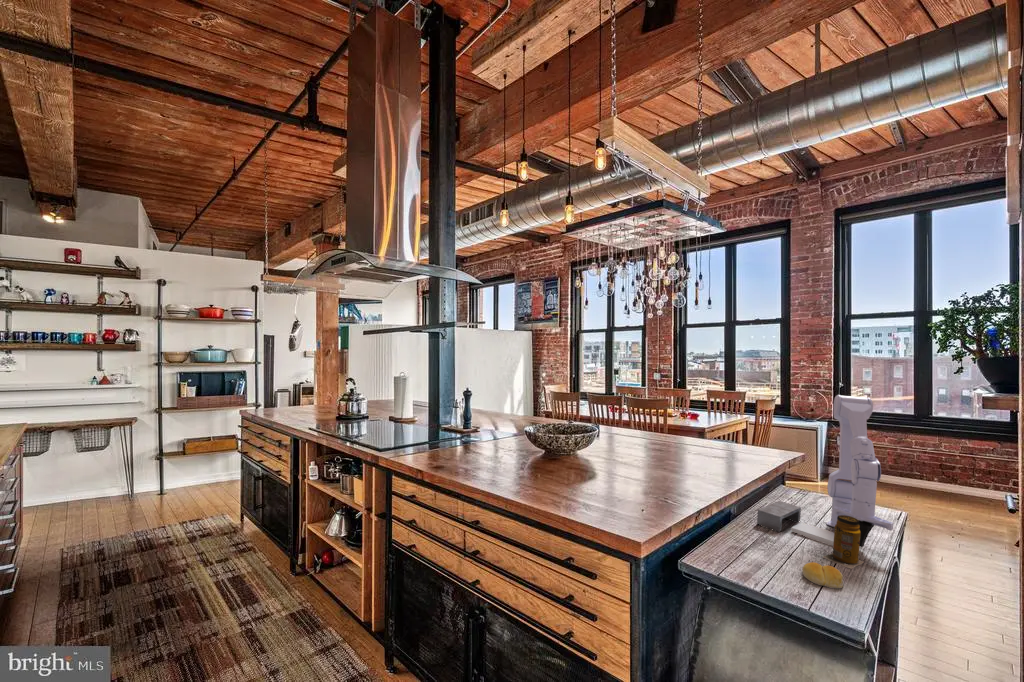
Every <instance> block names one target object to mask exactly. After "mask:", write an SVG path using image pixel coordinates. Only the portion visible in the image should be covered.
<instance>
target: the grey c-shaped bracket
mask: <svg viewBox="0 0 1024 682" xmlns="http://www.w3.org/2000/svg"><path fill="white" fill-rule="evenodd" d="M801 511H802V507H801V506H799V505H794V504H792V503H791V504H790V503H788V502H784V501H781V500H777V501H776V502H773V503H770V504H767V505H766V506H763V507H761V508H758V509H757V518H756V525H757V524H759V525H758V526H760V525H762V526H765V527H767V528H766V529H768V528H770V529H769V530H771V529H773V530H772V531H774V530H776V531H775V532H777V531H778V532H777V533H781V532H782V525H783V523H782V522H783V520H784V519H785V518H787V519H786V520H788V519H791V520H793V521H792V522H794V521H796V522H795V523H797V522H799V521H800V522H801ZM791 520H790V521H791ZM800 522H799V523H800ZM762 526H761V527H762ZM765 527H764V528H765ZM780 531H781V532H780Z"/></svg>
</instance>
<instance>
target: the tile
mask: <svg viewBox="0 0 1024 682" xmlns="http://www.w3.org/2000/svg"><path fill="white" fill-rule="evenodd" d="M791 531H792V532H795V533H798V534H800V535H799V536H801V535H803V536H802V537H804V536H805V537H804V538H807V537H808V539H810V538H811V540H813V541H817V542H819V543H823V544H825V545H828V546H832V547H833V544H834V531H830V530H828V529H824V528H821V527H818V526H814V525H812V524H808V523H805V522H802V521H800V522H799V523H797V524H795V525H793V526H791ZM792 532H791V533H792ZM795 533H794V534H795ZM798 534H797V535H798Z"/></svg>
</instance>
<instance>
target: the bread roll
mask: <svg viewBox="0 0 1024 682" xmlns="http://www.w3.org/2000/svg"><path fill="white" fill-rule="evenodd" d="M801 571H802V572H801V573H802V575H803V576H804V578H805V579H807V580H808V581H810V582H811V583H813V584H816V585H819V586H820V587H821V586H825V587H827V588H829V589H842V588H843V587H844V579H843V578H844V575H843V574H842V573H841V571H840V570H839V569H838V568H836V567H834V566H832V565H829V564H825V565H821V564H820V563H817V562H815V561H812V562H808V563H805V564H804V565H803V566H802V570H801Z"/></svg>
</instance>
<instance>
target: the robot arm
mask: <svg viewBox="0 0 1024 682" xmlns="http://www.w3.org/2000/svg"><path fill="white" fill-rule="evenodd" d="M833 400H834V401H833V412H832V413H833V418H834V419H835V420H837V421H838V423H839V450H838V451H839V457H838V469H837V470H835V471H833V472H831V473H829V475H828V481H827V494H828V496H829V497H830V498H832V503H831V513H830V515H831V517H830V520H829V521H828V522H826V523H825V524H826V525H827V526H830V527H833V528H835V525H836V524H837V523H836V522H837V517H838V516H839V515H845V516H850V517H853V518H856V519H857V520H859V522H860V524H859V526H860V528H859V530H860V532H861V534H860V546H859V548H863V547H864V546H865V542H866V540H867V537H868V536H869V534H870V532H871V531H872V529H873V528H874V527H875V526H877V527H880V528H883V529H886V530H888V531H890V532H891V531H893V530H894V522H892V521H889V520H886V519H884V518H882V517H878V516H876V515H875V514H876V501H877V486H878V483H877V482H879V481H880V480H881V477H882V468H881V467H882V465H881V463H880V461H879V459H878V458H877V457H876V455H875V448H874V444H873V442H874V441H872V439H869V438H868V426H867V424H868V423H867V421H868V420H869V419H870V417H871V416H872V414H873V411H874V404H873V403H874V402H873V400H872V398H871V397H864V396H863V397H862V396H861V397H860V396H852V395H851V396H850V395H841V394H837V395H835V397H834V399H833Z"/></svg>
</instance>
